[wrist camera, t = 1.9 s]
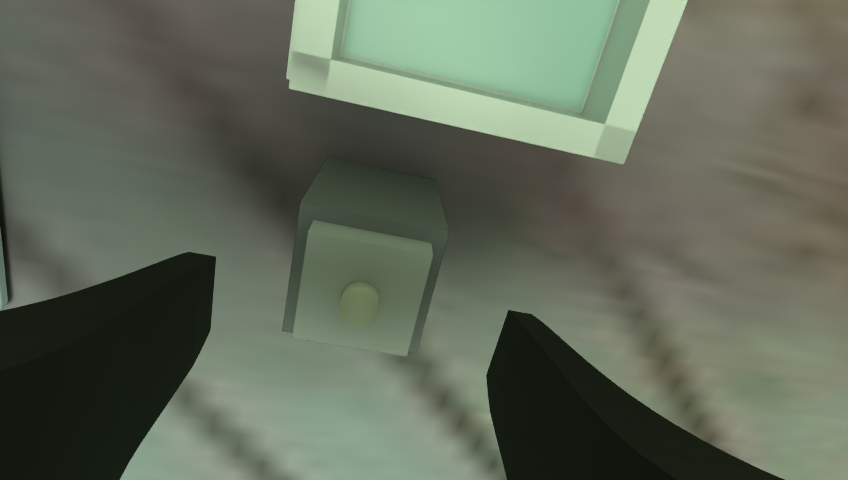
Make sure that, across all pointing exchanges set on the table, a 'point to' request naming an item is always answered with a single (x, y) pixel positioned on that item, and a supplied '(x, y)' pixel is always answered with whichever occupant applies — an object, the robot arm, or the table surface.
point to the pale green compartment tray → (492, 64)
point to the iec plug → (365, 258)
